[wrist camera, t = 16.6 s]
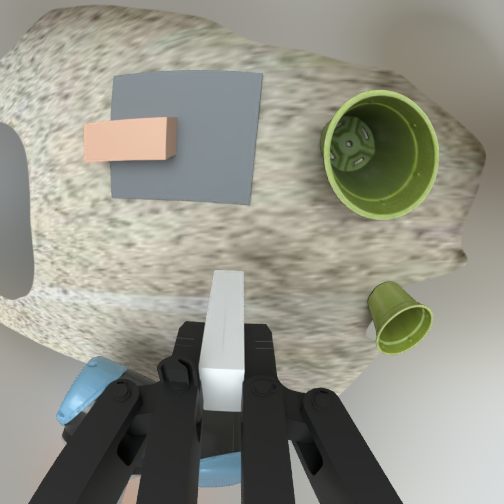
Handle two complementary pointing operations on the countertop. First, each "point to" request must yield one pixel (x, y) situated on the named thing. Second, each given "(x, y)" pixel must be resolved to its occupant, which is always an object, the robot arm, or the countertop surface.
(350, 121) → the plant pot
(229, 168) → the mat
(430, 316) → the plant pot
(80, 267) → the countertop surface
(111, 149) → the block
